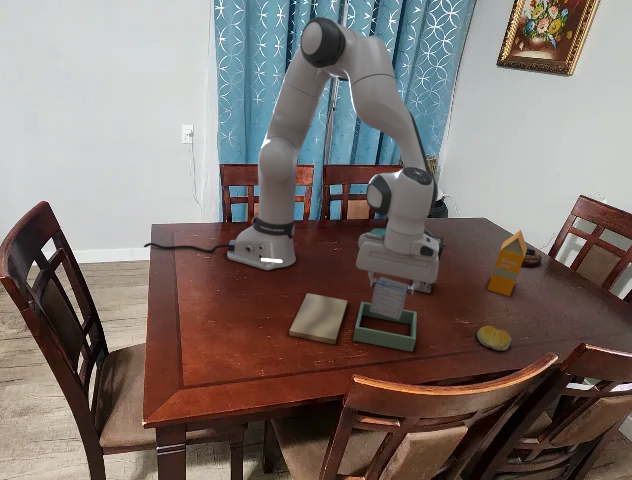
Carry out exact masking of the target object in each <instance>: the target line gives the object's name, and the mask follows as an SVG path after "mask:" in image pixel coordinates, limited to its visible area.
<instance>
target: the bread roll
mask: <svg viewBox="0 0 632 480" xmlns="http://www.w3.org/2000/svg"><path fill="white" fill-rule="evenodd" d="M476 337H477V339H478V342H479V343H480V344H481V345H483V346H484V347H487V348H491V349H492V350H494V351H498V352H500V351H501V352H504V351H506V350H508V349H509V347H510V345H511V343H512V340H513V339H512V337H511V335H510V334H509V333H508V332H507V331H506V330H503V329H497V328H496V327H495V326H493V325H484V326H482V327H481V328H479V329H478V331H477V334H476Z"/></svg>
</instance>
